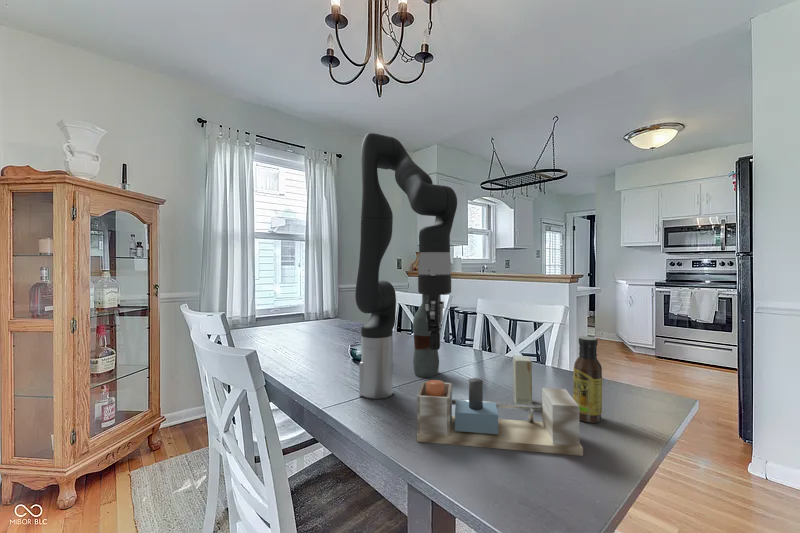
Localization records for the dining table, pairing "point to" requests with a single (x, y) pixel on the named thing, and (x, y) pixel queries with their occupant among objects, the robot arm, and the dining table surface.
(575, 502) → the dining table surface
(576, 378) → the sauce bottle
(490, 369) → the dining table surface
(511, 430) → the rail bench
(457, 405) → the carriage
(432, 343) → the robot arm
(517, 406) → the handrail
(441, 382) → the button
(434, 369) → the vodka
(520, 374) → the skincare box
